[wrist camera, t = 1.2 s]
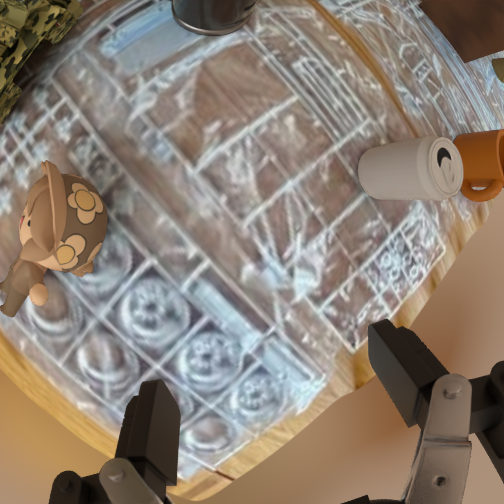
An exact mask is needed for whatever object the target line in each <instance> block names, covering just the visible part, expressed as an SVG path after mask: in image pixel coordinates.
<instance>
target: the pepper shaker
mask: <svg viewBox="0 0 504 504" xmlns="http://www.w3.org/2000/svg"><path fill="white" fill-rule="evenodd" d="M492 65H493V68H494V71H495V73H496V75H497V77H498V78H499V80H500V81H501V82H502V83H504V58H498V59H493V60H492Z"/></svg>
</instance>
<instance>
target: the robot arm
mask: <svg viewBox="0 0 504 504" xmlns="http://www.w3.org/2000/svg"><path fill="white" fill-rule="evenodd" d="M170 1H171V2H172V6H171V11H172V15H173V17H174V19H175V20H176V22H177V23H178V24H179V25H180V26H182V27H183V28H185V29H186V30H188V31H191V32H193V33H196V34H201V35H208V36H217V35H225V34H229V33H232V32H234V31H236V30H238V29H240V28H241V27H243V26H244V25H245V24H246V22H247V21H248V19H249V17H250V15H251V13H252V10H253V9H254V7H255V6H256V4H257V3H258V1H259V0H258V1H257V0H170ZM256 1H257V3H256ZM255 3H256V4H255ZM254 5H255V6H254ZM368 355H369V360H370V363H371V366H372V368H373V370H374V371H375V373H376V375H377V376H378V378H379V379H380V381H381V383H382V384H383V386H384V388H385V389H386V391H387V392H388V394H389V396H390V398H391V399H392V401H393V402H394V404H395V406H396V408H397V409H398V411H399V412H400V414H401V416H402V418H403V419H404V421H405V423H406V424H407V426H408V427H411V426H413V425H415V424H418V425H419V427H420V429H421V431H420V435H419V439H418V443H417V447H416V451H415V455H414V459H413V462H412V466H411V469H410V472H409V475H408V478H407V481H406V483H405V486H404V489H403V491H402V494H401V497H400V500H391V499H378V500H369V498H368V495H365V496H362V497H360V498H357V499H354V500H351V501H348V502H345V503H342V504H461V503H462V499H463V495H464V490H465V485H466V479H467V475H468V469H469V463H470V457H471V449H472V448H471V447H472V443H471V441H469V440H468V435H469V434H472V433H475V434H476V436H477V437H478V439H479V440H480V442H481V444H482V445H483V447H484V449H485V451H486V452H487V454H488V456H489V458H490V459H491V461H492V463H493V465H494V467H495V468H496V470H497V472H498V474H499V476H500V477H501V479H502V481H503V483H504V361H500V362H498V363H496V364H495V365H494V366H493V368H492V370H491V373H490V375H486V376H482V377H479V378H475V379H469V380H468V379H466V378H465V377H463V376H462V375H458V374H450V373H449V372H448V371H447V370H446V368H445V367H444V366H443V365H442V364H441V363H440V361H439V360H438V359H437V358H436V357H435V356H434V355H433V353H432V352H431V351H430V350H429V349H427V346H426V345H425V344H424V343H423V342H421V340H420V338H419V337H418V336H417V335H416V334H415V333H414V332H413V331H411V330H409V329H407V328H405V327H403V326H402V327H399V328H397V329H396V327H395V326H394V325H393V324H392V323H391V322H390V320H388V319H384V320H381V321H378V322H376V323H373V324H370V325H369V326H368ZM124 417H125V418H124V419H123V423H122V426H123V427H121V431H120V436H119V440H118V444H117V449H116V454H115V457H114V459H111V460H109V461H108V462H106V463H105V464H104V465H103V466H102V468H101V470H100V473H97V474H93V475H90V476H86V477H80V476H79V475H77V473H75V472H73V471H64V472H62V473H60V474H59V475H58V476H57V477H56V478H55V480H54V482H53V485H52V490H51V494H50V499H49V504H175V503H174V502H173V501H172V500H171V499H170V497H169V496H168V495H167V494H166V486H177V465H178V448H179V433H180V419H181V415H180V410H179V407H178V404H177V402H176V401H175V399H174V398H173V396H172V394H171V393H170V391H169V390H168V388H167V386H166V385H165V383H164V382H163V380H161V379H157V380H151V381H145V382H142V384H141V387H140V391H139V395H137V396H133V398H132V399H131V401H130V402H129V403H128V405H127V407H126V411H125V415H124Z"/></svg>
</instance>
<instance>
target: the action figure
mask: <svg viewBox="0 0 504 504" xmlns="http://www.w3.org/2000/svg"><path fill="white" fill-rule="evenodd" d="M41 169H42V172H43V173H44V177H42V178H41V179H40V180H38V181H37V182H36V183H35V184H34V186H33V187H32V189H31V191H30V193H29V196H28V199H27V202H26V204H27V205H26V207H25V209H24V211H23V214H22V216H21V220H20V226H19V231H20V240H21V243H22V245H23V247H22V250H21V253H20V255H19V257H18V258H17V259H16V260H15V262H14V263H13V264H12V265H11V266H10V271H9V273H8V275H7V277H6V279H5V280H4V281H3V282H1V283H0V290H1V291H3V292H5V293H7V298H6V301H5V303H4V304H3V305H1V306H0V310H1V312H2V313H3V314H4V315H6V316H9V317H14V316H15V315H16V313H17V311H18V310H19V308H20V307H21V305H22V304H23V302H24V301H25V299H26V298H27V296H28V295H30V299H31V301H32V302H33V303H34V304H36V305H39V306H41V305H43V304H45V303H46V302H47V300H48V291H47V289H46V287H45V283H44V273H45V272H46V270H47V268H49V269H52V270H57V271H63V272H65V273H66V272H71V273H73V274H74V275H76V276H79V277H83V276H84V275H85V273H86V272H88V273H92V271H93V267H94V264H93V258H94V257H95V256H96V255H97V253H98V251H99V250H100V247H101V245H102V243H103V241H104V238H105V235H106V231H107V221H108V218H107V210H106V207H105V204H104V202H103V199H102V197H101V195H100V194H99V193H98V192H97V190H96V189H95V188H94V186H92V185H91V184H90V183H89V182H88V181H86V180H85V179H83V178H81V177H79V176H76V175H69V174H62V175H61V173H60V172H59V170H58V168H57V167H56V165H54V164H53V163H51V162H49V161H47V160H46V161H45V163H44V162H41Z"/></svg>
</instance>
